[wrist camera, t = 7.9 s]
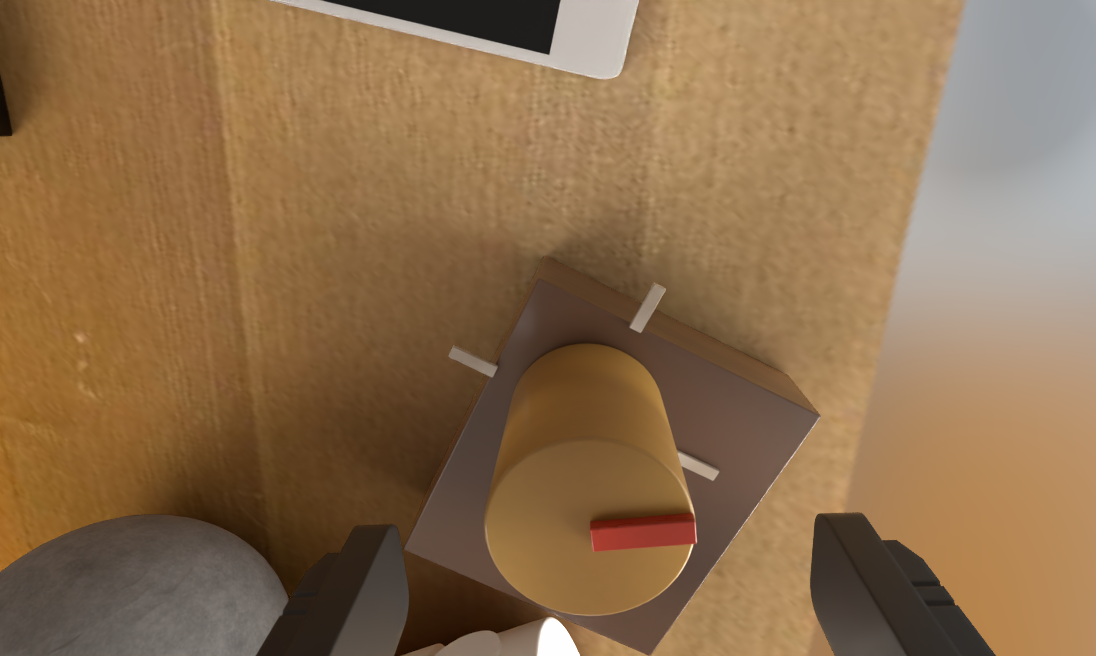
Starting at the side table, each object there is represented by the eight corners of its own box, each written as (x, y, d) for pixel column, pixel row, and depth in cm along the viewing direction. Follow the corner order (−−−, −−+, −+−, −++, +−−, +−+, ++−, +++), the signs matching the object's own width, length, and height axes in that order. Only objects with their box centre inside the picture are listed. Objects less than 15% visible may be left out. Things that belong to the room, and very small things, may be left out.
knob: (522, 486, 19) (498, 634, 14) (500, 351, 18) (463, 455, 12) (668, 473, 19) (705, 621, 13) (656, 334, 17) (692, 434, 12)
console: (524, 199, 19) (514, 213, 16) (811, 342, 20) (851, 381, 17) (391, 481, 23) (362, 536, 20) (642, 592, 24) (651, 660, 21)
